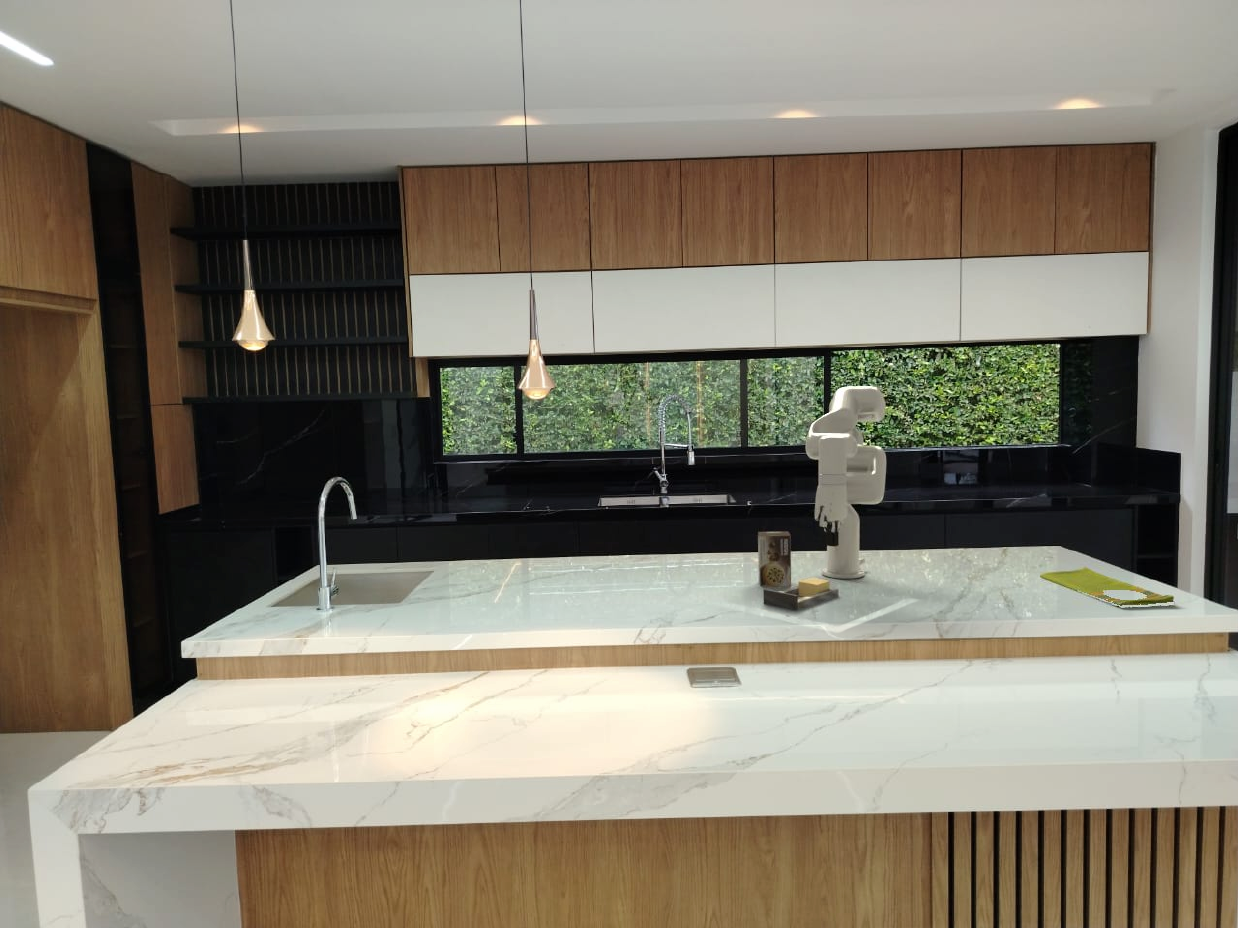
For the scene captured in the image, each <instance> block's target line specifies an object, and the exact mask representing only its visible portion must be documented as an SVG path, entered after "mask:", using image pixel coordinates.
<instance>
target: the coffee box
mask: <svg viewBox="0 0 1238 928" xmlns="http://www.w3.org/2000/svg"><path fill="white" fill-rule="evenodd" d="M791 538H792V537H791V534H790V532H789V531H757V544H758V545H757V546H758V547H757V549H758V551H757V552H758V553H757V555H758V557H757V559H758V560H757V561H758V562H757V563H758V566H757V567H758V584H759V587H792V550H791V548H792V547H791V546H792V545H791V544H792V543H791V541H792V540H791Z"/></svg>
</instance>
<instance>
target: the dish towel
mask: <svg viewBox="0 0 1238 928" xmlns="http://www.w3.org/2000/svg"><path fill="white" fill-rule="evenodd" d="M1039 577H1040V578H1041V579H1044V580H1046V581H1049V582H1052V583H1054V584H1058V585H1059V584H1060V585H1059V586H1062V587H1064V586H1065V588H1067V589H1070V590H1072V589H1073V590H1072V591H1075V590H1079V591H1081V592H1084V593H1087V594H1089V595H1092V596H1095V597H1098V598H1101V599H1104V600H1106V599H1108V600H1106V601H1108V602H1111V601H1113V602H1112V603H1114V604H1117V605H1120V606H1122V605H1140V604H1141V605H1148V604H1156V603H1167V602H1174V603H1175V601H1174V599H1175V597H1174V596H1173V595H1170V594H1166V595H1162V594H1159V593H1156V592H1153V591H1150V590H1147V589H1144V588H1141V587H1139V586H1136V585H1134V584H1131V583H1128V582H1124V581H1122V580H1118V579H1115V578H1112V577H1109V576H1106V575H1104V574H1102V573H1099V572H1096V571H1093V570H1092V569H1090V568H1088V567H1086V566H1084V567H1083V568H1081V569H1073V570H1067V571H1066V570H1061V571H1050V572H1049V571H1048V572H1045V573H1041V574H1040V575H1039ZM1103 590H1105V591H1106V590H1130V591H1136V592H1140V593H1143V594H1145V595H1147V596H1146V597H1147V598H1145V599H1144V598H1143V599H1138V600H1120V599H1115V598H1111V597H1109V596H1107V595H1104V594H1103V593H1104V592H1103Z"/></svg>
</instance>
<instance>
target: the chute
mask: <svg viewBox="0 0 1238 928" xmlns="http://www.w3.org/2000/svg"><path fill="white" fill-rule="evenodd" d="M836 597H839V588H836V587H832V588H830V589H829V590H826V591H823V592H820V593H817V594H814V595H811V596H808V597H800V598H799V596H798V585H795V586H793V587H792V586H791V587H789V588H786V589H783V590H779V591H778V590H773V589H767V588H764V589H763V605H767V606H771V607H775V608H781V609H785V610H789V611H793V612H798V611H800V610H803V609H806V608H809V607H812V606H814V605H817V604H819V603H822V602H825V601H827V600H831V599H834V598H836Z"/></svg>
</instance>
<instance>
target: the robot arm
mask: <svg viewBox="0 0 1238 928" xmlns="http://www.w3.org/2000/svg"><path fill="white" fill-rule="evenodd" d="M886 411H887V406H886V401H885V398H884V396H883V393H882V392H881V390H880V389H879V388H877V387H875V386H844V387H840V388H839V389H837V390H836V391H835V392H834V394H833V396H832V399H831V401H830V403H829V406H828V413H826V414H823V415H822V416H821V417H820V418H818V419H816V420H815V421H813V422H812V424H810V427H809V429H808V433H807V435H806V439H805V453H806V455H807V456H808V458H809V459H812V460H818V485H817V489H816V493H815V505H814V520H815V521H817V522H818V521H819V527H823V528H824V529H823V530H824V532H825V543H824V544H825V546H826V554H827V555H826V563H827V564H826V567H824V568H822V569H821V574H822V575H823V576H825V577H827V578H828V577H829V578H832V579H833V578H834V579H844V580H846V579H847V580H850V579H858V578H861V577H864V576H865V570H863V569H861V568H860V566H861V565H864V564H865V563H866V559H865V558H864V557H860V516H859V514H858V512H857V511H856V510H855V508H854V507H853V506H852V505H858V504H859V505H860V504H861V505H877V504H879V503H881V502H882V501H883V499H884V496H885V489H886V487H885V486H886V473H887V456H886V452H885V451H884V449H883V448H882V447H880V446H875V445H864V436H863V435H862V433H861V432H860V430H859V429H857V427H856V425H857V424H858V423H877V422H881V421H883V419H884V418H885V415H886Z"/></svg>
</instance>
